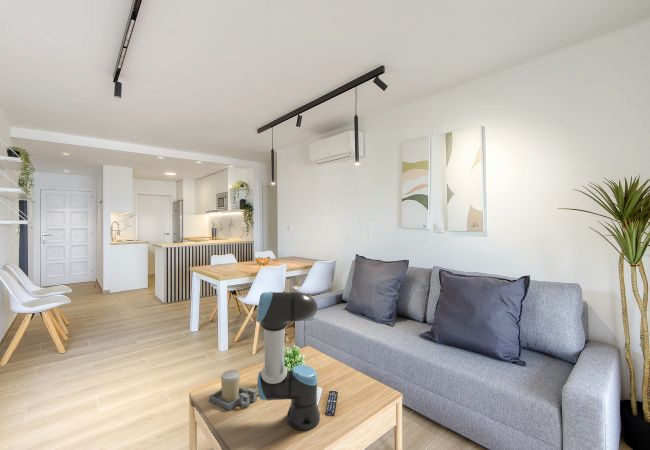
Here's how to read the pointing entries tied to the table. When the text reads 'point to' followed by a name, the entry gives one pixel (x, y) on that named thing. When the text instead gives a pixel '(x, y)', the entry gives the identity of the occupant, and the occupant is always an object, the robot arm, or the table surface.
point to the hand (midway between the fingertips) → (277, 365)
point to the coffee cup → (230, 385)
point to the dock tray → (242, 396)
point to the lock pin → (252, 393)
